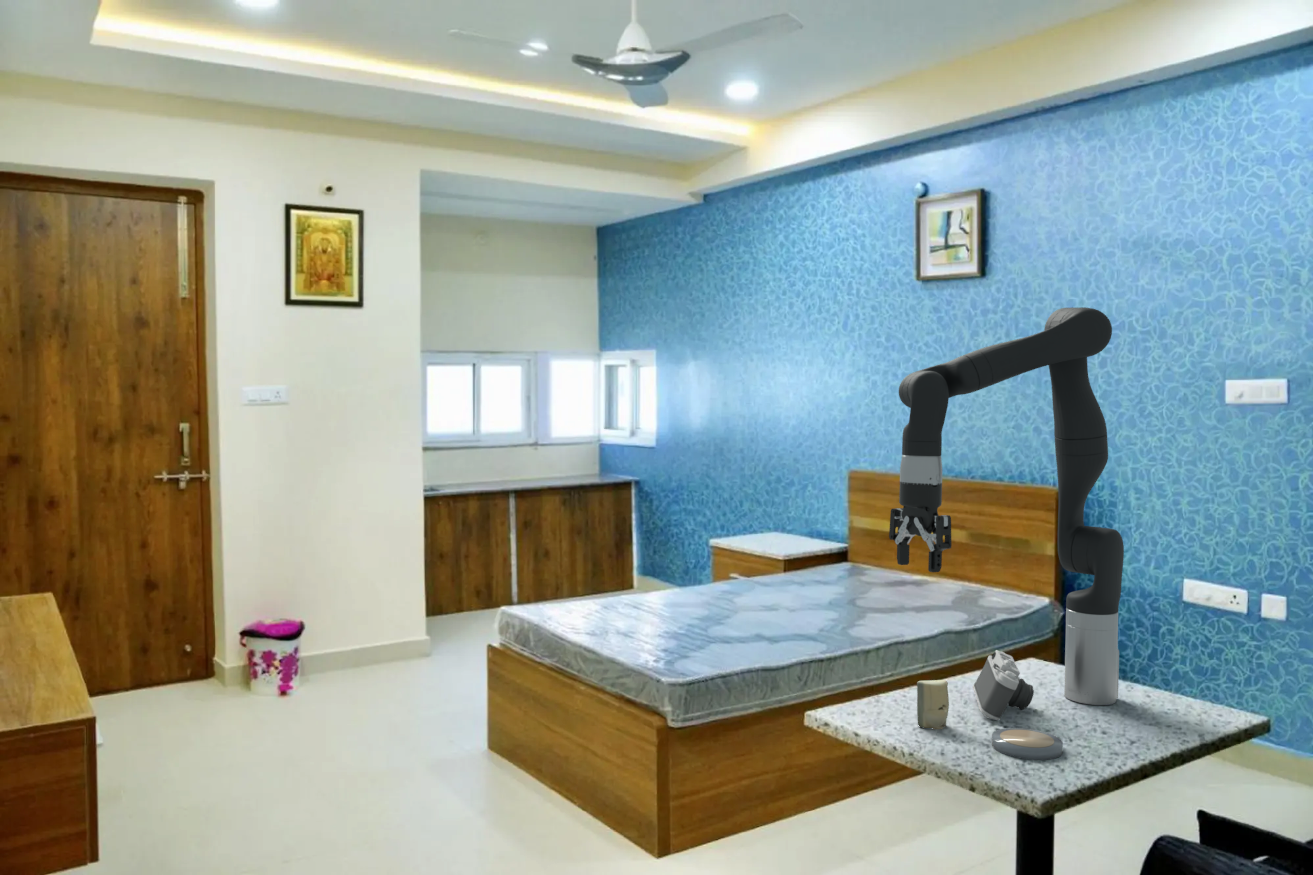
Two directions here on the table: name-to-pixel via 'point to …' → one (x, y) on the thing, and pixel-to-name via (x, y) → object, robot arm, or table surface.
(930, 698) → the off-white rounded piece
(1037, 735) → the coaster
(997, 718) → the camera
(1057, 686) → the table surface
